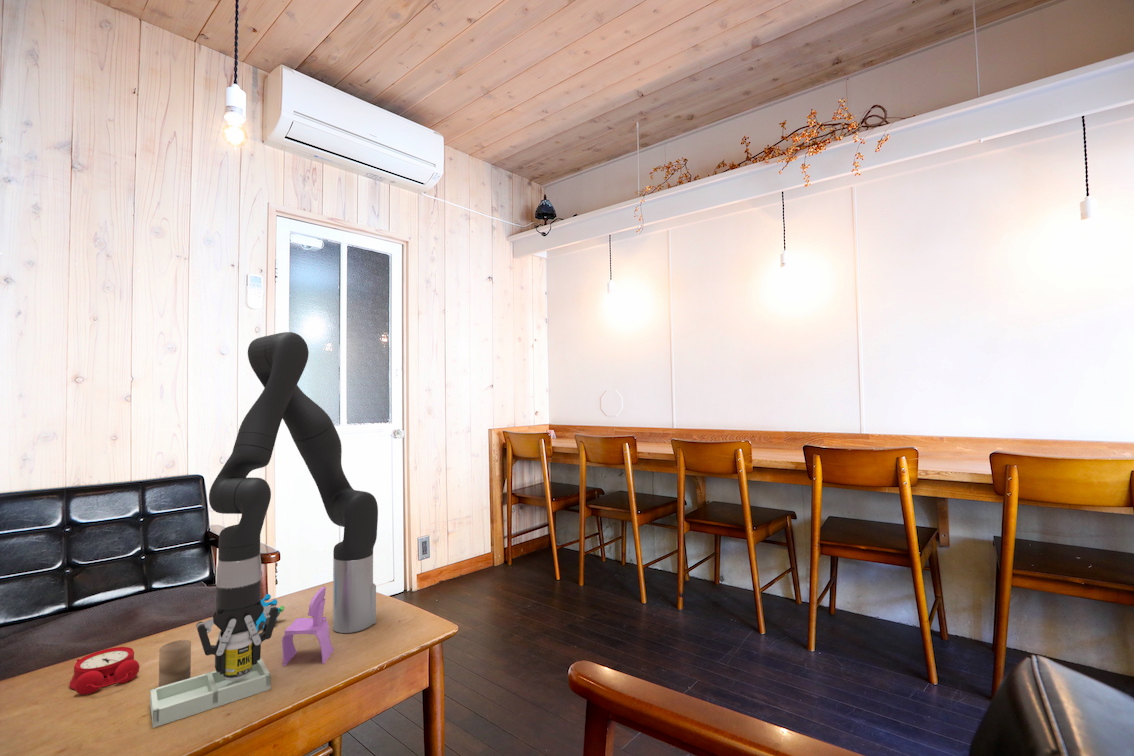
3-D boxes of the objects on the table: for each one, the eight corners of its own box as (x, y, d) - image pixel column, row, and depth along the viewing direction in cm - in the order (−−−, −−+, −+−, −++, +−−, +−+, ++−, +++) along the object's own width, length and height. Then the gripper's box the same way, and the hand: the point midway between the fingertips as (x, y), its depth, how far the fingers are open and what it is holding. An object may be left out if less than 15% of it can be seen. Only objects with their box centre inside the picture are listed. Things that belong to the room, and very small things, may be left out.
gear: (231, 632, 124) (235, 592, 130) (227, 644, 127) (232, 604, 133) (283, 627, 129) (285, 589, 136) (279, 639, 133) (281, 601, 139)
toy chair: (294, 650, 118) (295, 582, 119) (335, 647, 119) (335, 580, 120) (278, 669, 110) (279, 596, 111) (322, 666, 111) (322, 594, 112)
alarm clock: (131, 641, 116) (145, 646, 106) (132, 671, 115) (146, 679, 105) (66, 658, 108) (75, 666, 98) (66, 691, 107) (75, 702, 97)
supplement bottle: (238, 682, 100) (238, 637, 100) (217, 679, 101) (217, 635, 101) (257, 669, 105) (258, 626, 105) (237, 667, 106) (238, 624, 106)
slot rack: (260, 671, 109) (260, 657, 109) (270, 689, 102) (270, 674, 102) (150, 705, 97) (150, 689, 98) (152, 727, 91) (153, 711, 91)
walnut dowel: (188, 677, 107) (189, 637, 107) (191, 687, 103) (192, 646, 103) (157, 686, 104) (158, 645, 104) (159, 697, 100) (160, 654, 100)
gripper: (275, 567, 111) (274, 649, 110) (192, 583, 102) (190, 673, 101) (284, 576, 105) (283, 663, 105) (197, 594, 96) (195, 689, 95)
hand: (237, 667), depth 103 cm, fingers closed on supplement bottle, 4 cm apart
